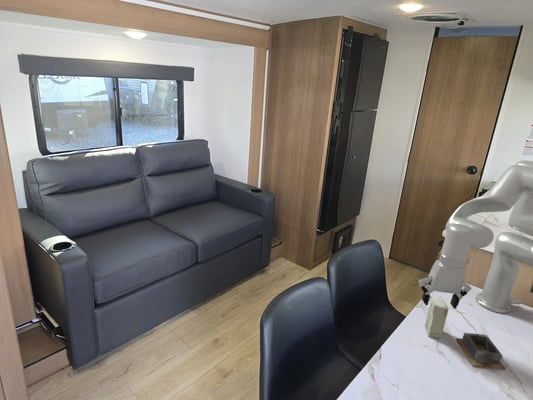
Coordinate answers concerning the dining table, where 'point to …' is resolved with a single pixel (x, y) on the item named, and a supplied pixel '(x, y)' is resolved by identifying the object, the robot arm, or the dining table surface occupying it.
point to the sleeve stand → (480, 351)
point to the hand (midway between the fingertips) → (438, 304)
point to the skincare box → (436, 317)
